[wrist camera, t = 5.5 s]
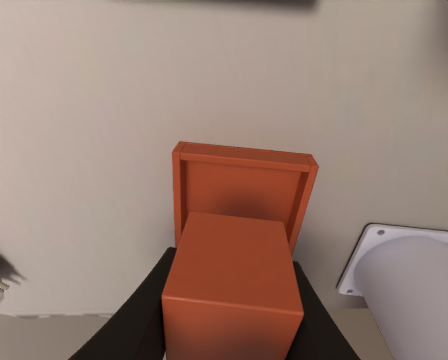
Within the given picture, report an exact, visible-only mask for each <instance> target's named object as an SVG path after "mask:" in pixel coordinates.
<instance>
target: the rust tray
mask: <svg viewBox="0 0 448 360" xmlns="http://www.w3.org/2000/svg"><path fill="white" fill-rule="evenodd" d="M172 163H173V192H174V222H175V248H178V245H179V242H180V239H181V236H182V233H183V230H184V227H185V224H186V221H187V218H188V215H189V213H190V212H200V213H209V214H218V215H227V216H235V217H244V218H253V219H262V220H271V221H280V222H283V223H284V226H285V231H286V235H287V240H288V244H289V249H290V253H291V257H292V253H293V250H294V247H295V244H296V240H297V237H298V234H299V230H300V227H301V224H302V221H303V217H304V214H305V211H306V207H307V204H308V201H309V198H310V194H311V191H312V188H313V185H314V181H315V178H316V175H317V171H318V168H319V166H318V164H317V163H316V161H315V160H314V158H313V156H312V155H311V154H302V153H291V152H281V151H271V150H261V149H251V148H241V147H230V146H220V145H210V144H200V143H190V142H179V143H178V144H177V146H176V147H175V149H174V150H173V152H172Z"/></svg>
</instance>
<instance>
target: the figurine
mask: <svg viewBox="0 0 448 360" xmlns="http://www.w3.org/2000/svg"><path fill="white" fill-rule="evenodd" d="M0 287H1V288H2V289H1V288H0V294H2V293H3V292H4V290H7V289H8V288H9V285H7V284H5V283H3V282H2V279H1V277H0ZM3 289H4V290H3Z"/></svg>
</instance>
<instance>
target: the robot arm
mask: <svg viewBox="0 0 448 360" xmlns="http://www.w3.org/2000/svg"><path fill="white" fill-rule="evenodd" d="M379 230H381V231H379ZM378 231H379V232H378ZM176 251H177V248H174V247H169V248H168V249H167V250H166V251H165V253H164V254H163V256H162V257H161V259H160V260H159V261H158V263H157V264H156V266H155V267H154V268H153V270H152V271H151V272H150V273H149V275H148V276H147V277H146V278H145V280H144V281H143V282H142V283H141V285H140V286H139V287H138V288H137V289H136V291H135V292H134V293H133V294H132V295H131V296H130V298H129V299H128V300H127V301H126V302H125V303H124V304H123V305H122V306H121V308H120V309H119V310H118V311H117V312H116V313H115V314H114V315H113V316H112V317H111V318H110V319H109V321H108V322H107V323H106V324H105V325H104V326H103V327H102V328H101V329H100V330H99V331H98V332H97V333H96V334H95V335H94V336H93V337H92V338H91V339H90V340H89V341H88V342H86V344H84V345H83V346H82V347H81V348H80V349H79V350H78V351H77V352H76V353H75V354H74V355H72V356H71V357H70V358H69V359H68V360H163V357H164V353H165V350H166V349H165V336H164V323H163V309H162V293H163V290H164V287H165V284H166V281H167V278H168V275H169V272H170V269H171V266H172V263H173V260H174V257H175V254H176ZM292 262H293V266H294V271H295V275H296V280H297V284H298V289H299V293H300V297H301V302H302V306H303V311H304V316H303V318H302V321H301V323H300V325H299V328H298V330H297V333H296V335H295V337H294V340H293V342H292V344H291V347H290V349H289V352H288V354H287V356H286V359H285V360H360V358H359V357H358V356H357V354H356V353H355V351H354V350H353V349H352V347H351V346H350V345H349V343H348V342H347V340H346V339H345V338H344V336H343V335H342V333H341V332H340V330H339V329H338V327H337V326H336V324H335V323H334V321H333V320H332V318H331V317H330V315H329V314H328V312H327V311H326V309H325V307H324V306H323V304H322V303H321V301H320V299H319V298H318V296H317V294H316V293H315V291H314V289H313V288H312V286H311V284H310V283H309V281H308V279H307V277H306V276H305V274H304V272H303V270H302V268H301V267H300V265H299V263H298V262H294V261H292ZM337 289H338V292H339V293H341V294H347V295H356V296H363V297H364V299H365V301H366V303H367V305H368V307H369V309H370V311H371V313H372V315H373V317H374V320H375V321H376V324H377V326H378V328H379V330H380V332H381V334H382V336H383V338H384V340H385V342H386V344H387V346H388V348H389V351H390V353H391V355H392V357H393V359H394V360H448V231H438V230H428V229H419V228H409V227H400V226H390V225H381V224H370V225H368V226H367V227H366V228H365V230H364V232H363V234H362V237H361V239H360V241H359V243H358V245H357V247H356V249H355V251H354V253H353V255H352V257H351V259H350V262H349V264H348V266H347V268H346V270H345V272H344V274H343V276H342V278H341V280H340V282H339V284H338V286H337Z"/></svg>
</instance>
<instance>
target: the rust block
mask: <svg viewBox="0 0 448 360" xmlns="http://www.w3.org/2000/svg"><path fill="white" fill-rule="evenodd" d="M162 309H163V323H164V336H165V349H166V360H285V359H286V356H287V354H288V352H289V349H290V347H291V344H292V342H293V340H294V337H295V335H296V333H297V330H298V328H299V325H300V323H301V321H302V318H303V316H304V311H303V306H302V302H301V297H300V293H299V289H298V284H297V280H296V275H295V271H294V266H293V262H292V258H291V253H290V249H289V244H288V240H287V235H286V231H285V226H284V223H283V222H280V221H271V220H262V219H253V218H244V217H235V216H227V215H218V214H209V213H200V212H190V213H189V215H188V218H187V221H186V224H185V227H184V230H183V233H182V236H181V239H180V242H179V245H178V248H177V251H176V254H175V257H174V260H173V263H172V266H171V269H170V272H169V275H168V278H167V281H166V284H165V287H164V290H163V293H162Z"/></svg>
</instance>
